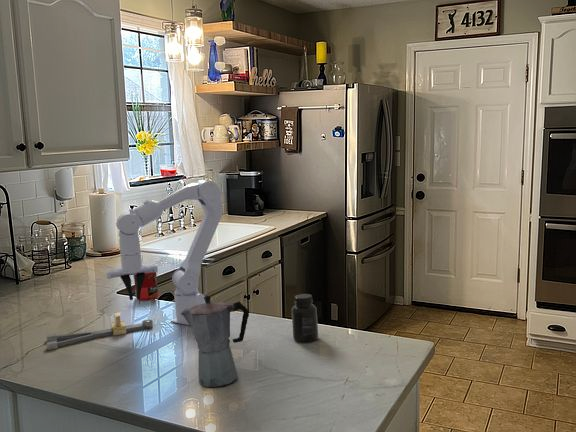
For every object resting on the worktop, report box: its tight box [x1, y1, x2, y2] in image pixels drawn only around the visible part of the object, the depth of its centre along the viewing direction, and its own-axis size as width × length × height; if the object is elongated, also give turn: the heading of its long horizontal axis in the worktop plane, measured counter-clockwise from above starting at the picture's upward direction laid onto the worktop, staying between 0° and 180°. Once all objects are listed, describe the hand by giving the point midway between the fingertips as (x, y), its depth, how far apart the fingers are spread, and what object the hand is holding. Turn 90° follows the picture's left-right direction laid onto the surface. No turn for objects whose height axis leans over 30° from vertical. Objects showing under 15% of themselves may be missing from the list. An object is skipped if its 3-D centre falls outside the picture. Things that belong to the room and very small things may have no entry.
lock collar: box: [110, 312, 127, 337], centre depth 168 cm, size 4×5×5 cm, turn 23°
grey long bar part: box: [46, 318, 154, 351], centre depth 167 cm, size 30×9×2 cm, turn 113°
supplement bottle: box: [291, 293, 319, 344], centre depth 154 cm, size 7×7×12 cm
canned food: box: [133, 272, 159, 302], centre depth 205 cm, size 8×8×11 cm
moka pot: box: [181, 295, 250, 388], centre depth 130 cm, size 10×15×20 cm, turn 95°
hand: (134, 298), depth 169 cm, fingers closed
